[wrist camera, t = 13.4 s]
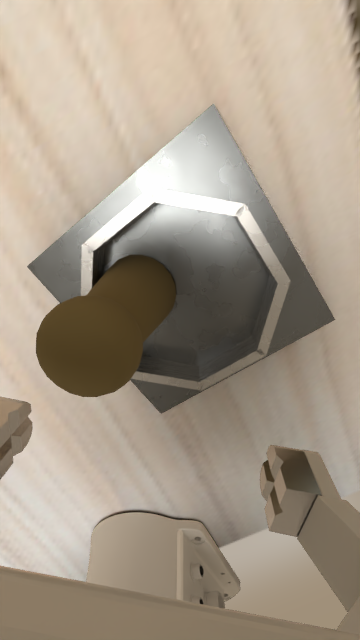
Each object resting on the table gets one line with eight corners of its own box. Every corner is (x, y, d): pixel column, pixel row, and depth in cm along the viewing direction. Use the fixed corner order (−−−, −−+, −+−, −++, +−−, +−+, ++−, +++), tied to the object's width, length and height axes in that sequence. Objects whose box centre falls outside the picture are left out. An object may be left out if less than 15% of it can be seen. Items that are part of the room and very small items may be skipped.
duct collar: (331, 316, 23) (350, 332, 20) (161, 409, 28) (157, 432, 25) (213, 106, 18) (215, 89, 15) (30, 265, 23) (7, 274, 20)
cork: (188, 274, 22) (160, 337, 11) (160, 336, 24) (117, 434, 14) (115, 241, 21) (23, 277, 11) (95, 308, 24) (4, 386, 14)
